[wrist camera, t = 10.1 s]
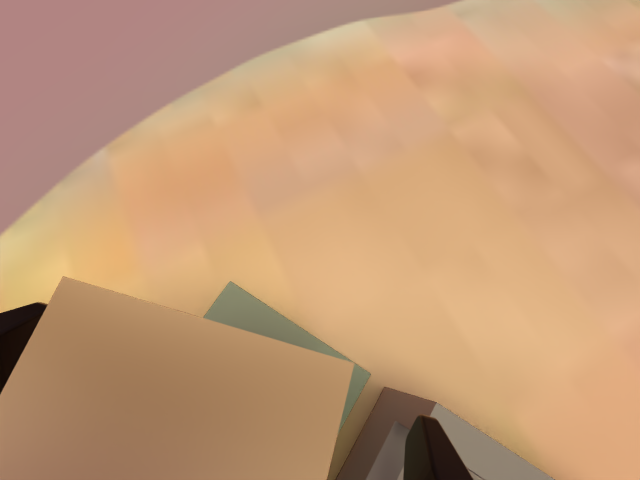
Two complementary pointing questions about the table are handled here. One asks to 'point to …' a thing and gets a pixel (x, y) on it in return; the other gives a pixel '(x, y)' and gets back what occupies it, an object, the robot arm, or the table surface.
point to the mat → (278, 332)
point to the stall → (470, 443)
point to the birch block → (164, 397)
